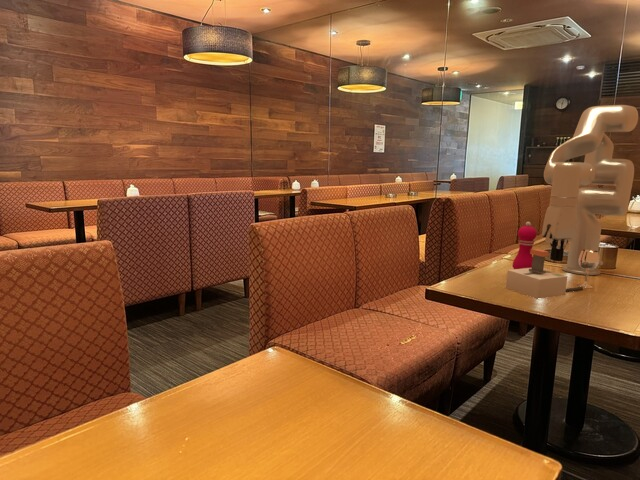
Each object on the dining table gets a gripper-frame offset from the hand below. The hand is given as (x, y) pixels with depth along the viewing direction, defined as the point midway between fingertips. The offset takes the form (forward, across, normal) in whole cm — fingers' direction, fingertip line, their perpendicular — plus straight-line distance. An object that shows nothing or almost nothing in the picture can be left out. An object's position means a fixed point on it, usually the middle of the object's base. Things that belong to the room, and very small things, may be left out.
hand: (556, 260), depth 143 cm
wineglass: (+10, -14, +1) cm, 17 cm away
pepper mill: (+10, -2, -14) cm, 17 cm away
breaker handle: (+4, +8, 0) cm, 9 cm away
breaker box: (+10, +3, 0) cm, 10 cm away
